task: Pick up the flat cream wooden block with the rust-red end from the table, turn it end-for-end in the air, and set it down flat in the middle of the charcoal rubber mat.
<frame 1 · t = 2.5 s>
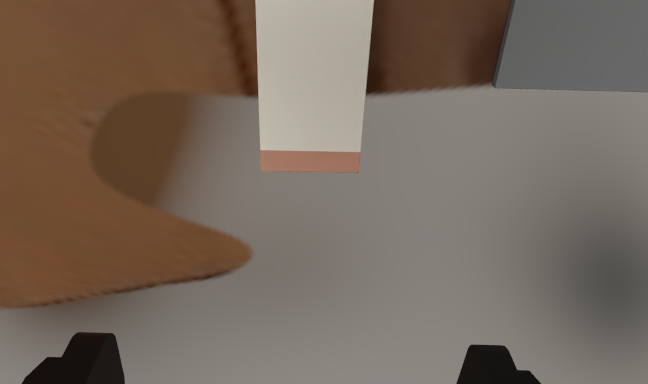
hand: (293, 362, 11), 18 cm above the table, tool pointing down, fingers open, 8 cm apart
cream block: (311, 61, 26), on the table
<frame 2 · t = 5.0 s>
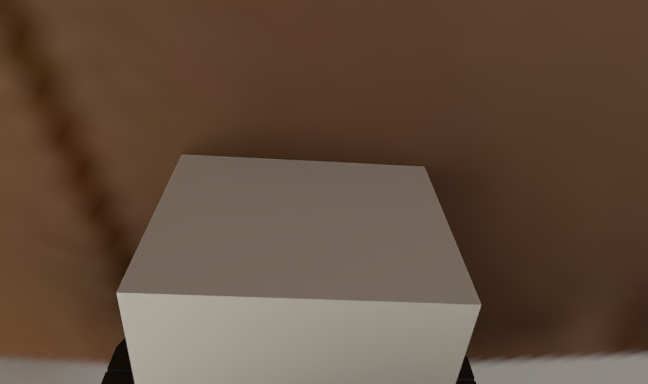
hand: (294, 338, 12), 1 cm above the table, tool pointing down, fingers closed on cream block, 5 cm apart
cream block: (295, 316, 13), on the table, touching gripper
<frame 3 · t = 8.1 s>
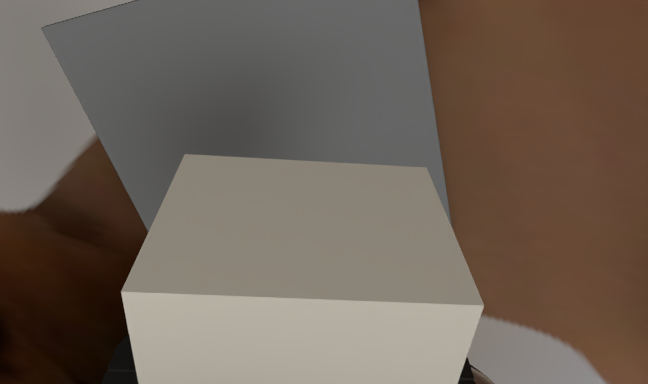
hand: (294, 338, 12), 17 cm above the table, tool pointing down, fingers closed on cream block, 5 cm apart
mat: (273, 144, 28), on the table
cream block: (297, 316, 13), point 16 cm above the table, touching gripper
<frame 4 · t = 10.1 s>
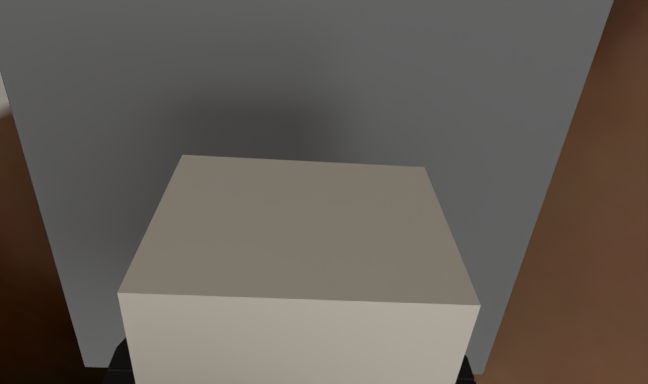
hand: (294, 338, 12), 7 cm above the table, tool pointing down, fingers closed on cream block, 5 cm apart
mat: (294, 197, 18), on the table
cream block: (296, 316, 13), point 6 cm above the table, touching gripper
when the fingers open (3 cm above the table, at t = 11.4 s): cream block drops 1 cm, resting on mat.
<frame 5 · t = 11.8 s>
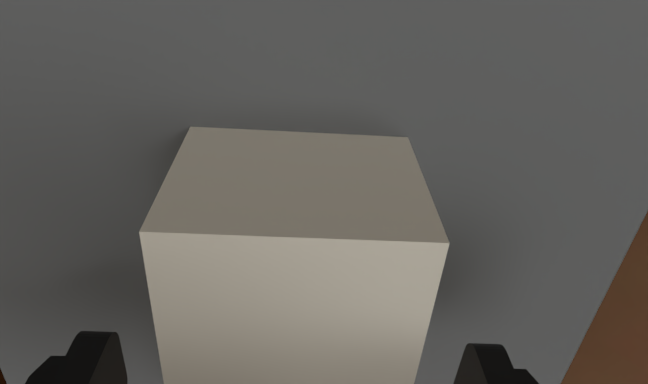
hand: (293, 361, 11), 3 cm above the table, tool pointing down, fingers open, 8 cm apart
mat: (296, 267, 14), on the table
cream block: (293, 279, 14), resting on mat
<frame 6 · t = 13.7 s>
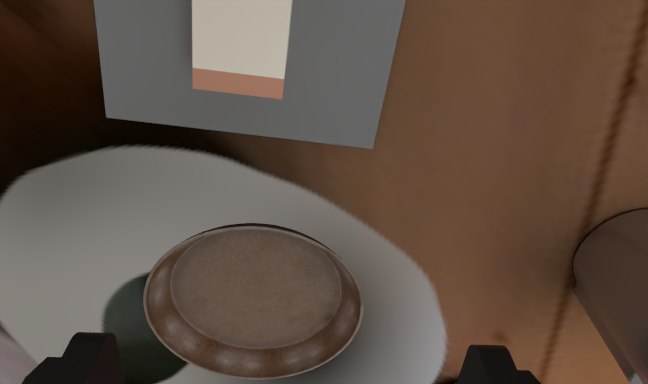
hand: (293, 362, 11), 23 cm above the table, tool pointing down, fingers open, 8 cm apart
plant saucer: (258, 285, 43), on the table
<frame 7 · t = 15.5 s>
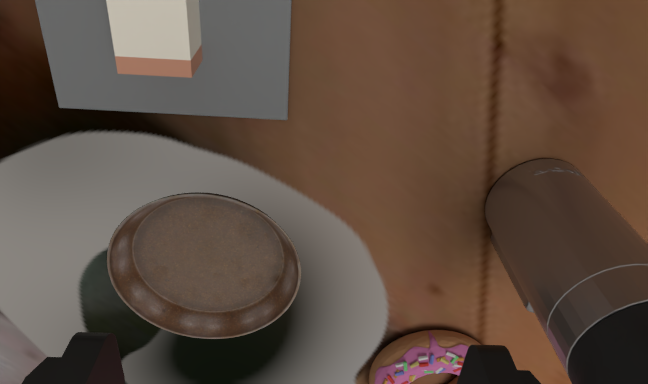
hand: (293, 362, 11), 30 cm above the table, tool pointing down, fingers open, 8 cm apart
donut: (427, 362, 58), on the table
plant saucer: (211, 253, 48), on the table
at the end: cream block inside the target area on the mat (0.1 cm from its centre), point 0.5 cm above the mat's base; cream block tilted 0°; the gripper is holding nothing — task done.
